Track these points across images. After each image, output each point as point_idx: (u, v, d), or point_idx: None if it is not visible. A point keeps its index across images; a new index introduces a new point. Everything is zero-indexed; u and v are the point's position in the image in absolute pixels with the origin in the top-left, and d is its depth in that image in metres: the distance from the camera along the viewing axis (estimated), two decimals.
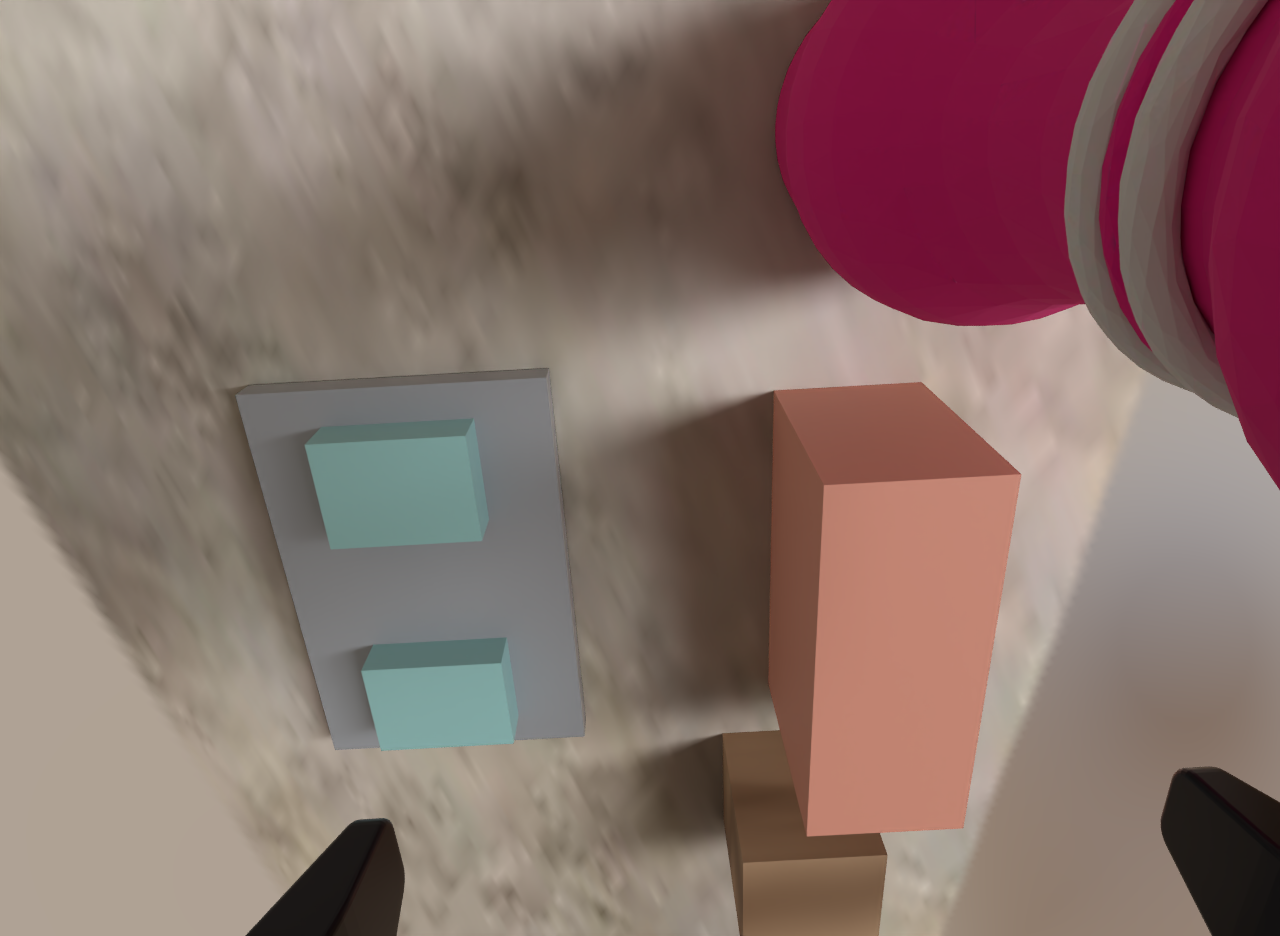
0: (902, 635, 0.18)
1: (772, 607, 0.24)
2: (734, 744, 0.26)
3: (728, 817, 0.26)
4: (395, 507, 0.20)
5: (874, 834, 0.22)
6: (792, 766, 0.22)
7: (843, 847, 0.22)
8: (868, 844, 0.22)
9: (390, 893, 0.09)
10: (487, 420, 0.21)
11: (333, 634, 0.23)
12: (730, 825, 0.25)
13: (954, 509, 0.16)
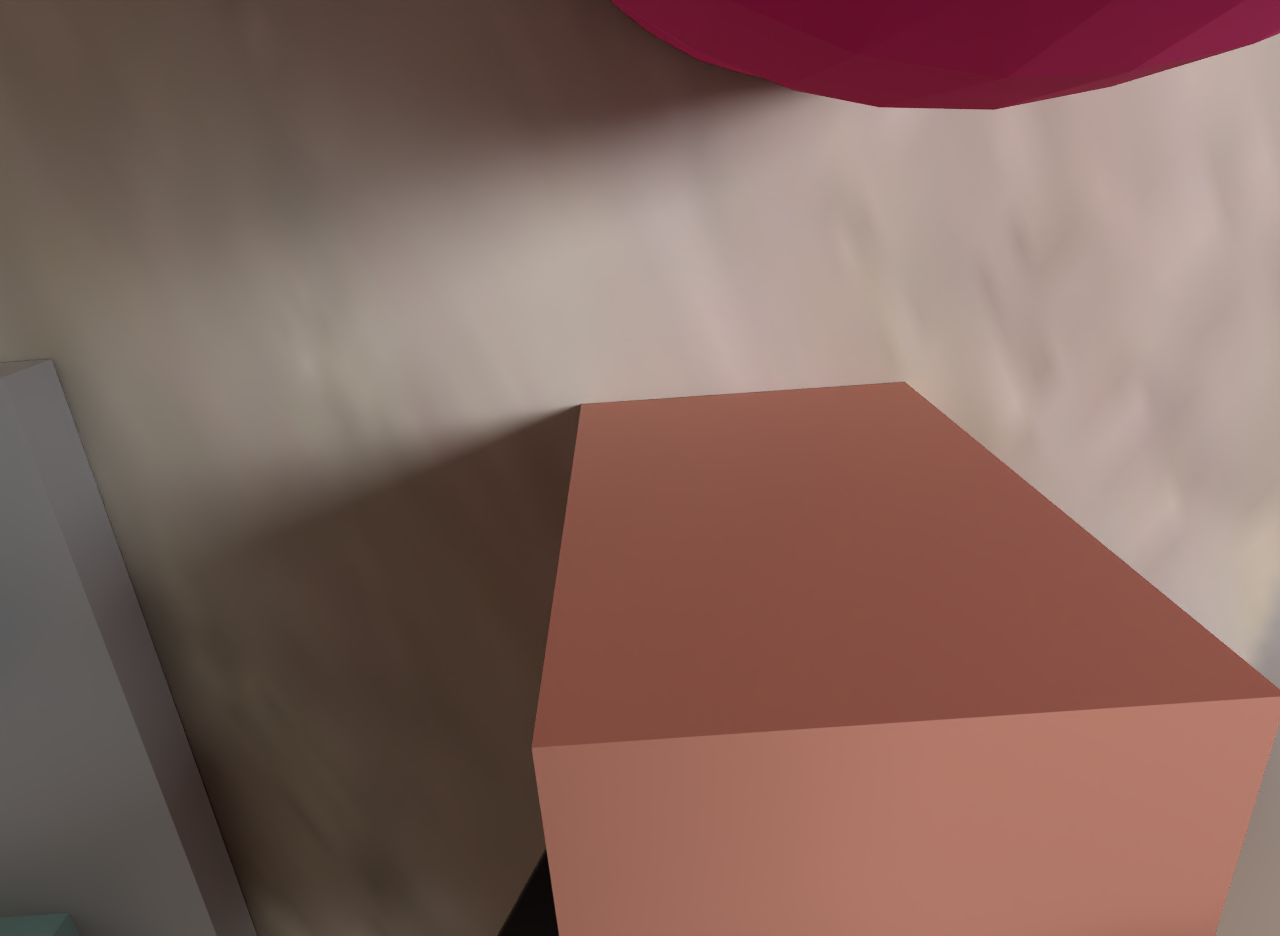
0: None
1: None
2: None
3: None
4: None
5: None
6: None
7: None
8: None
9: None
10: None
11: None
12: None
13: (1029, 814, 0.04)
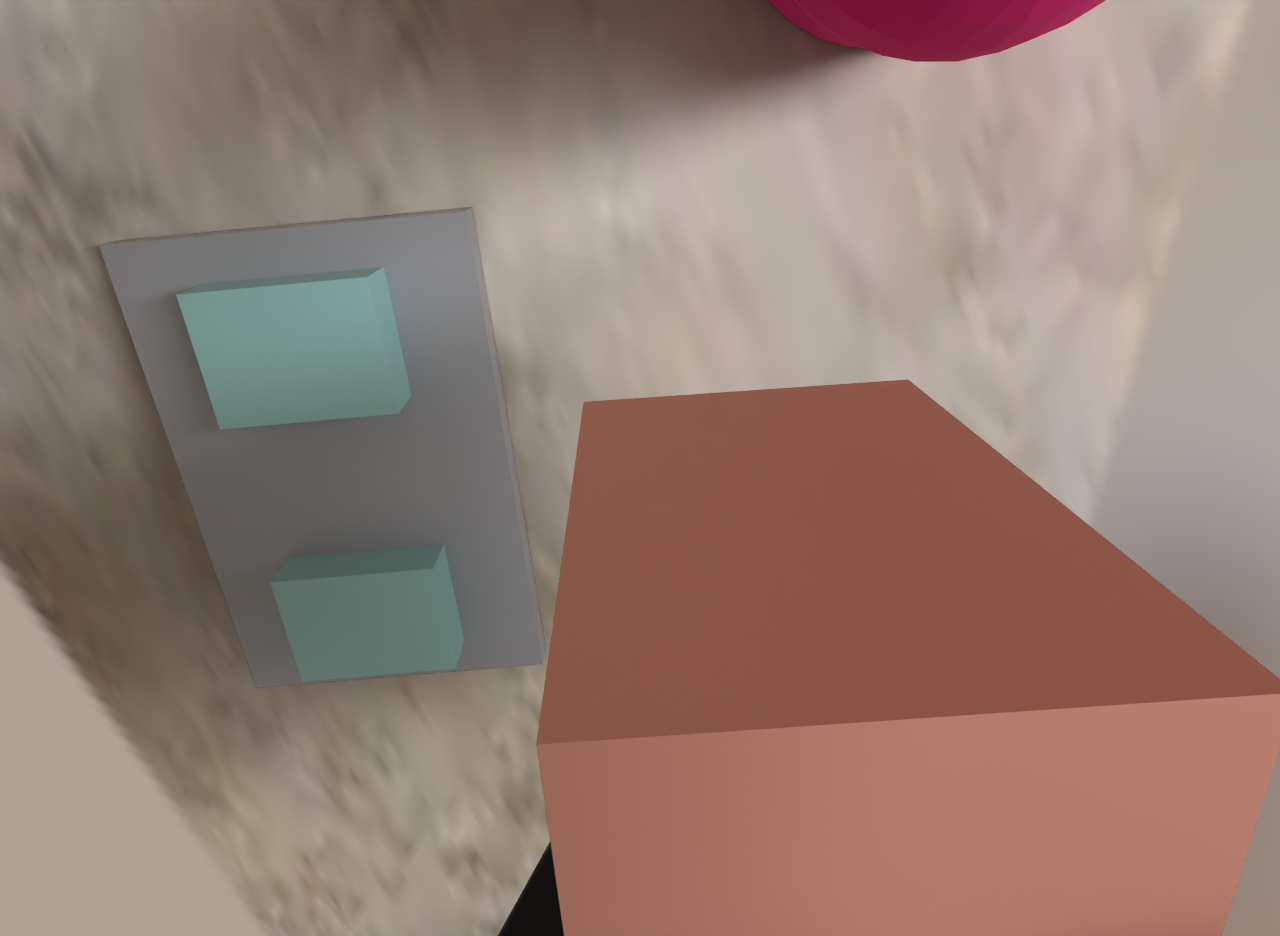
0: None
1: None
2: None
3: None
4: (291, 373, 0.17)
5: None
6: None
7: None
8: None
9: None
10: (400, 269, 0.17)
11: (241, 545, 0.20)
12: None
13: (1037, 813, 0.04)
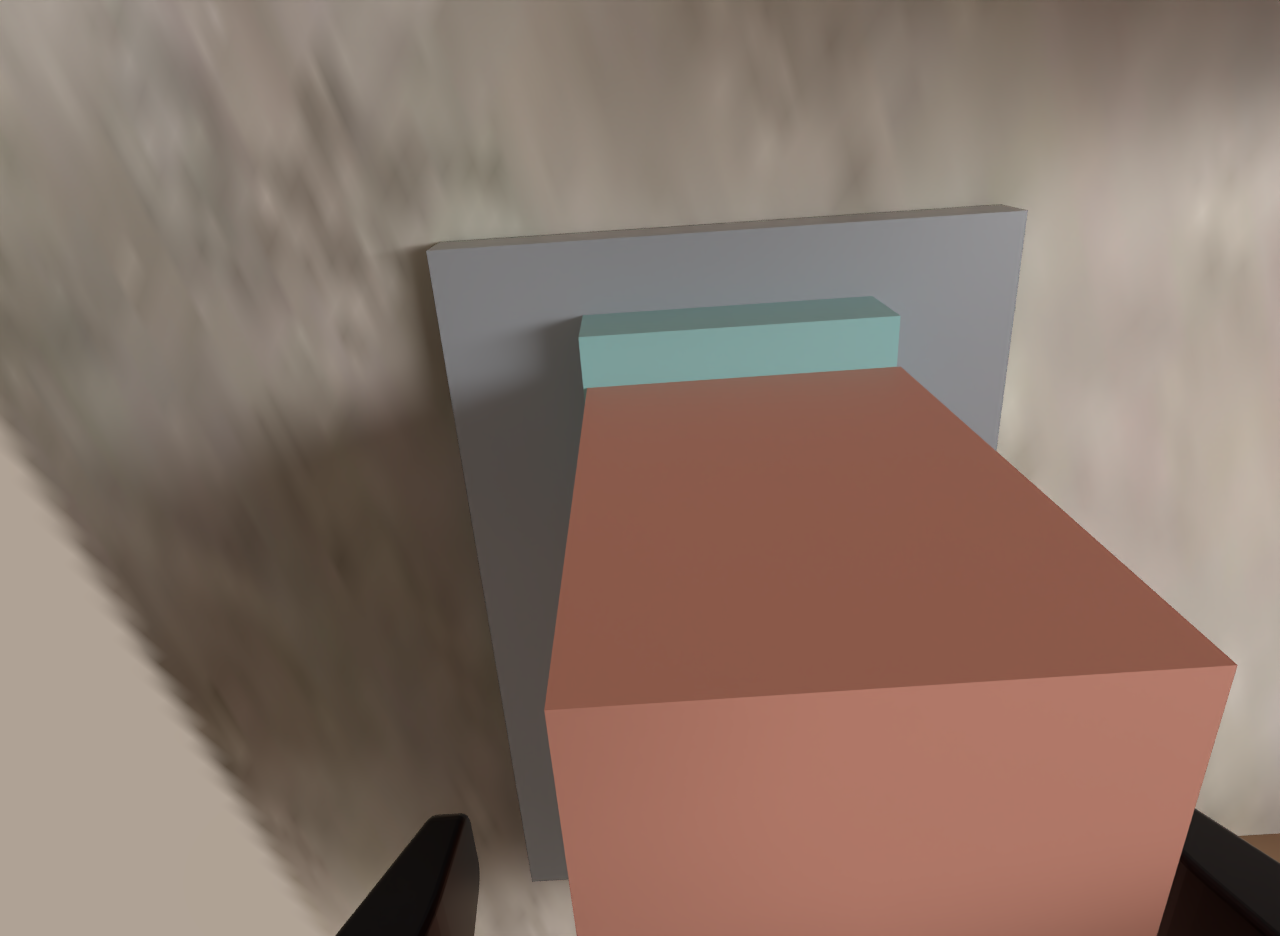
0: None
1: None
2: None
3: None
4: None
5: None
6: None
7: None
8: None
9: (469, 888, 0.09)
10: (896, 300, 0.11)
11: None
12: None
13: (1001, 773, 0.05)
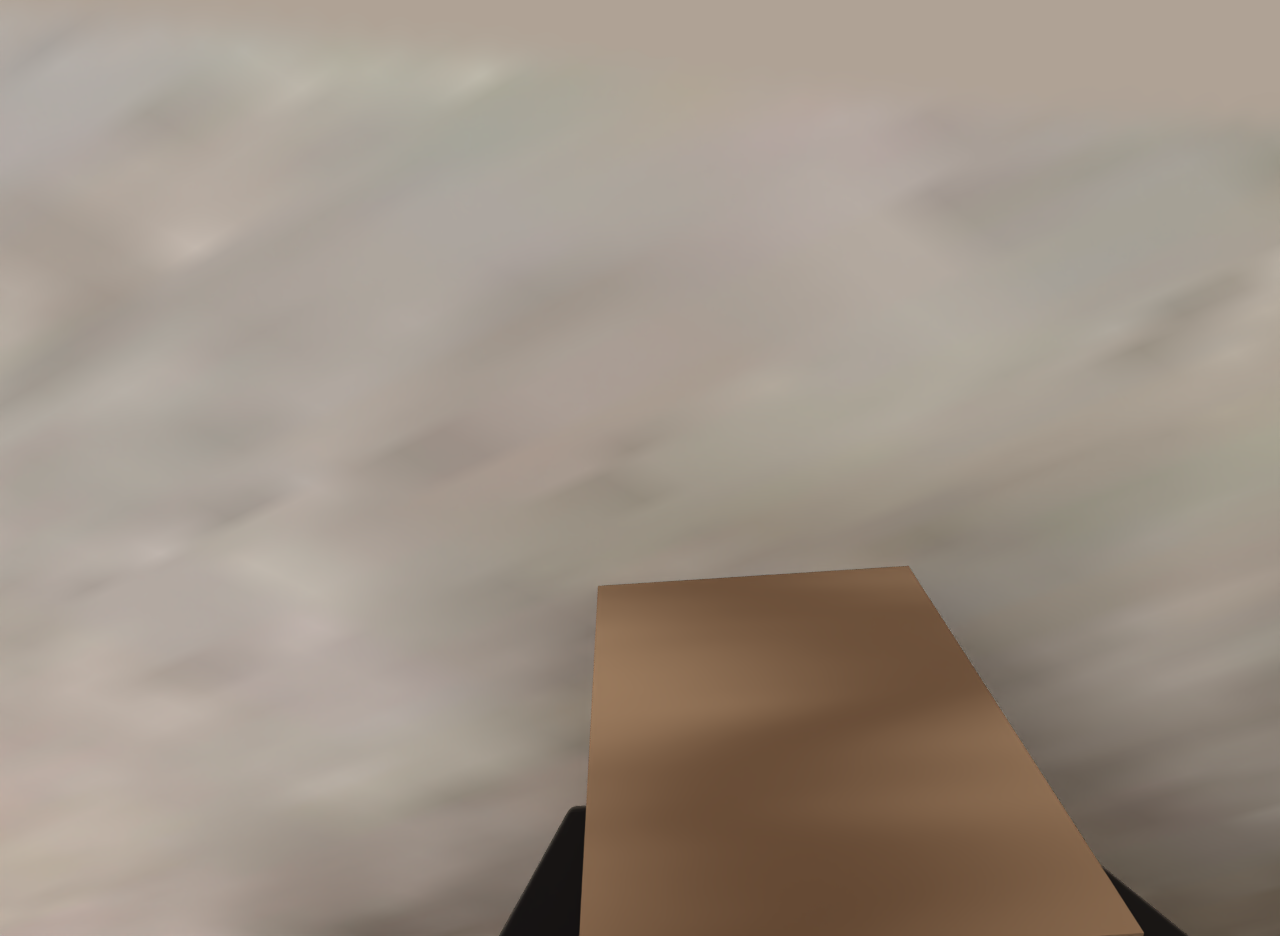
0: None
1: None
2: None
3: None
4: None
5: None
6: None
7: None
8: None
9: None
10: None
11: None
12: None
13: None
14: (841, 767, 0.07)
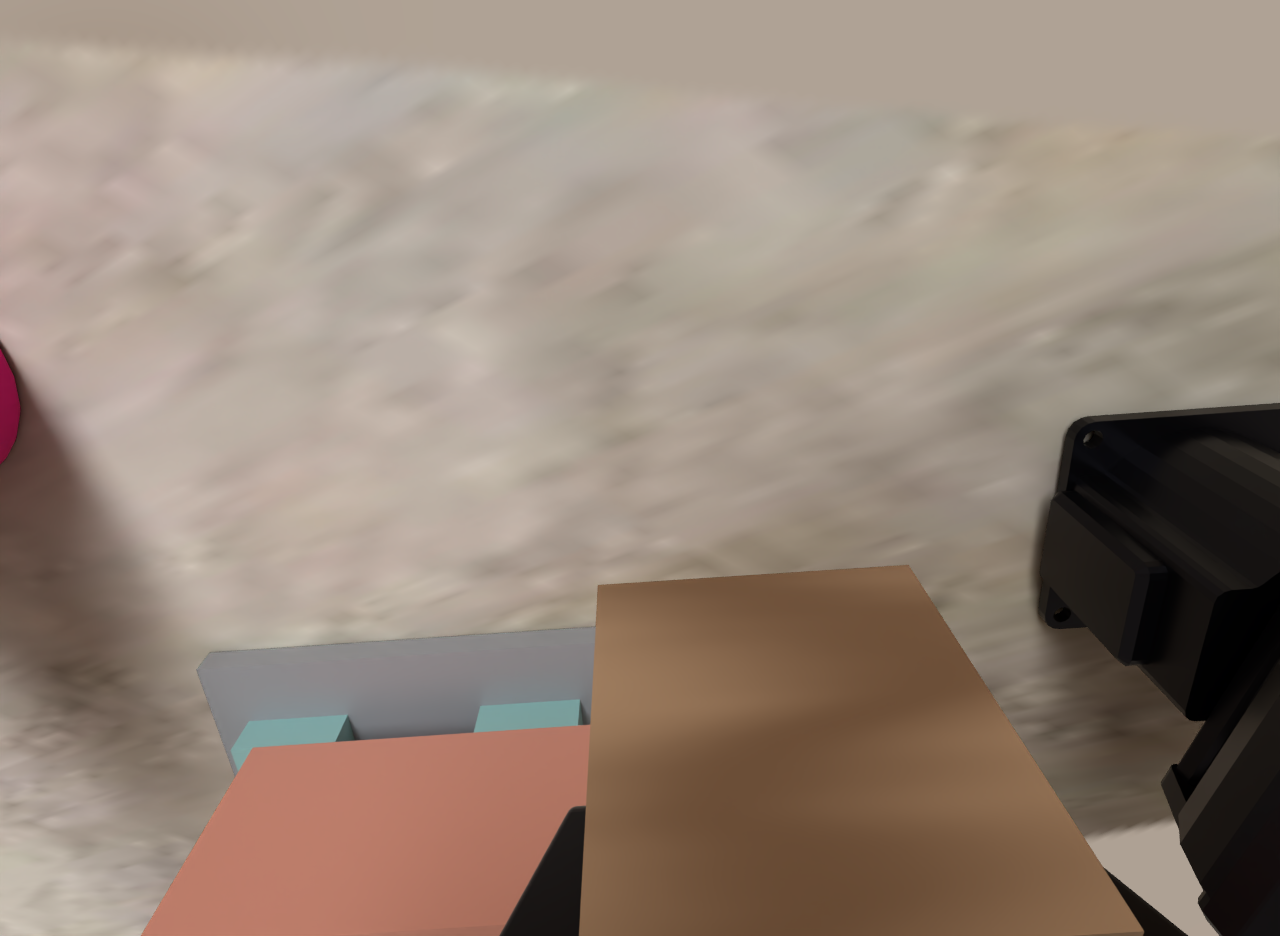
0: None
1: None
2: None
3: None
4: None
5: None
6: None
7: None
8: None
9: None
10: (248, 711, 0.24)
11: None
12: None
13: None
14: (841, 767, 0.07)
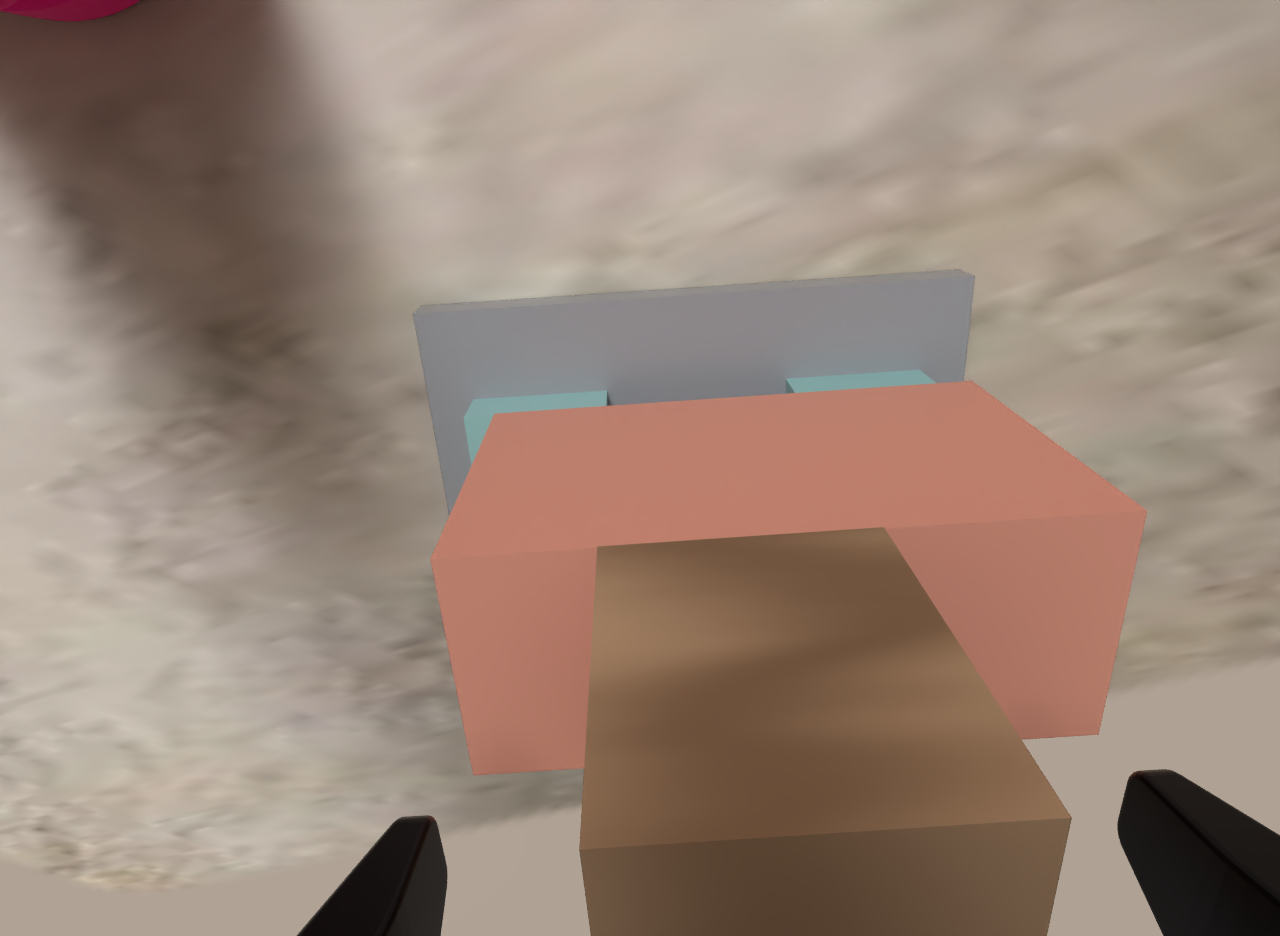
0: None
1: None
2: None
3: None
4: None
5: None
6: None
7: None
8: None
9: (435, 891, 0.09)
10: (474, 384, 0.17)
11: None
12: None
13: (494, 631, 0.12)
14: (815, 694, 0.08)
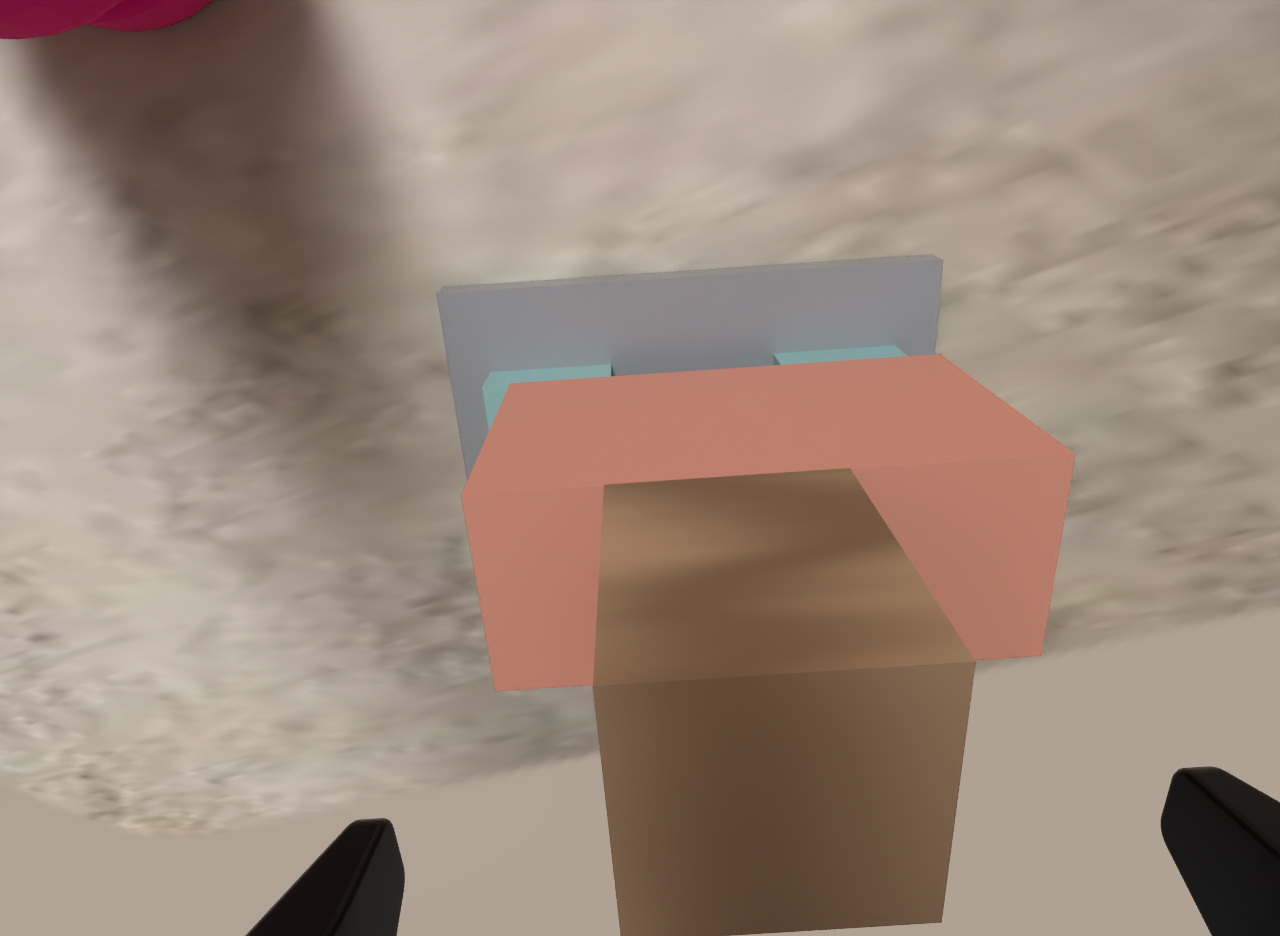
0: None
1: None
2: None
3: None
4: None
5: None
6: None
7: (602, 747, 0.09)
8: None
9: (390, 893, 0.09)
10: (491, 358, 0.19)
11: None
12: None
13: (514, 560, 0.13)
14: (782, 584, 0.10)
